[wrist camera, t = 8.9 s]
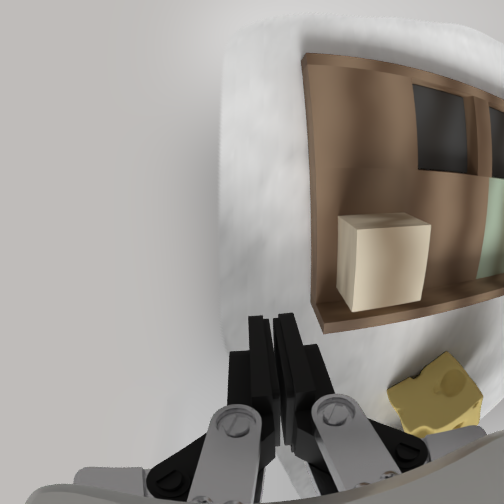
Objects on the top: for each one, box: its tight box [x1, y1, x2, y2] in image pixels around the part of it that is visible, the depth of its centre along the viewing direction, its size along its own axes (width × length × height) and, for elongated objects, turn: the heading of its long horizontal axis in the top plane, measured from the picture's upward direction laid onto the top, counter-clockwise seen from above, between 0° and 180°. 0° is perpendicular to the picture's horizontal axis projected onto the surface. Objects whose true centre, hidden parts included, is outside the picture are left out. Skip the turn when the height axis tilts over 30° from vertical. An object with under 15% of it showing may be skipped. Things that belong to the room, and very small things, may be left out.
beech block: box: [336, 213, 431, 312], centre depth 19 cm, size 6×6×4 cm
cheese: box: [387, 351, 483, 438], centre depth 26 cm, size 10×11×10 cm
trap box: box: [301, 53, 504, 334], centre depth 19 cm, size 30×21×5 cm
